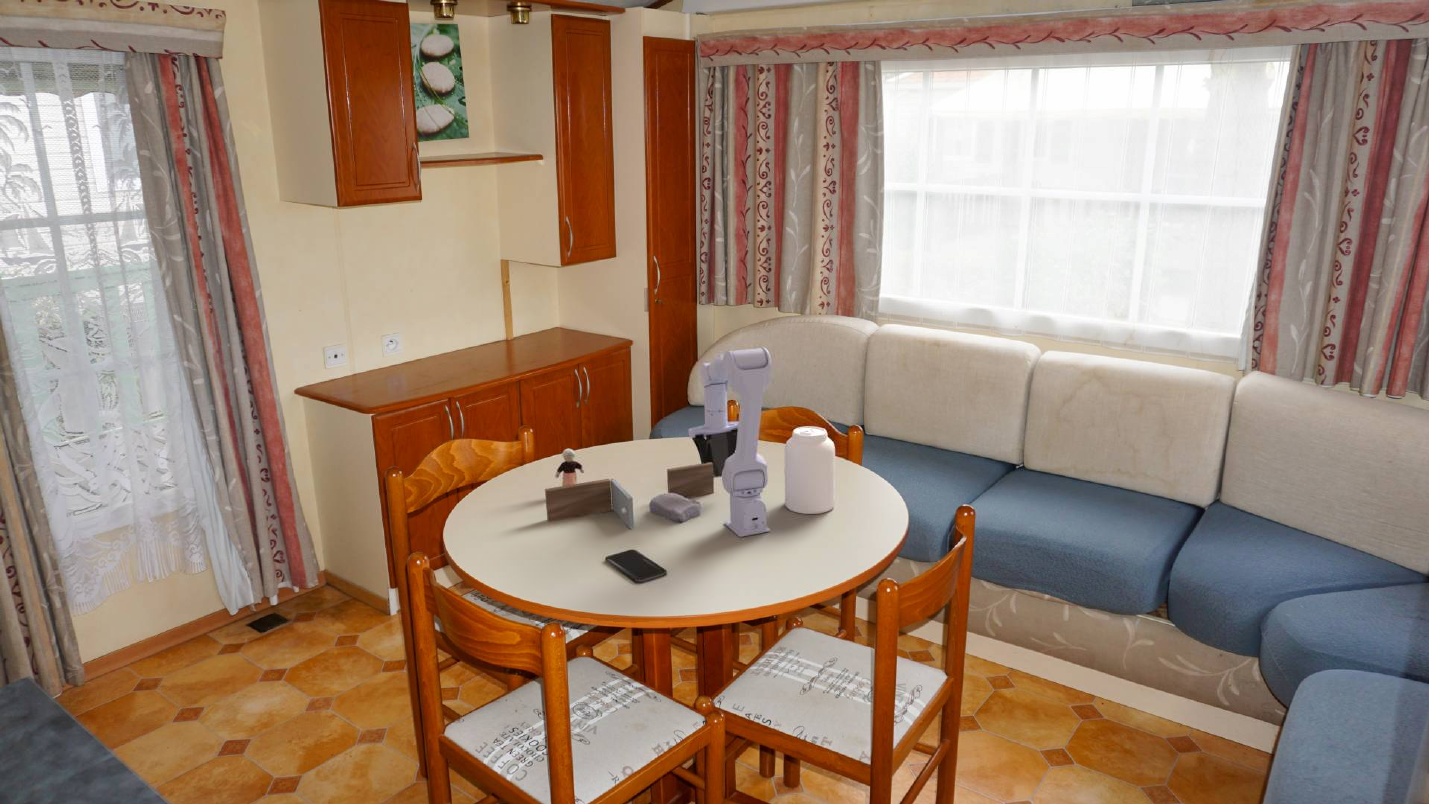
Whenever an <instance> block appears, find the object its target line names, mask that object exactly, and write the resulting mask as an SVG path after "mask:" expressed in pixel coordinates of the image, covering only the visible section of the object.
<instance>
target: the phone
mask: <svg viewBox="0 0 1429 804" xmlns="http://www.w3.org/2000/svg"><path fill="white" fill-rule="evenodd" d="M604 559H605V560H604V561H605V563H606V564H607V565H608V566H610V567H611V568H613V569H615V570H616V571H617V572H619V573H620V574H621V575H623V576H624V577H626V578H627V579H629V580H630V581H631V582H633V583H634V584H637V585H638V584H639V585H640V584H644V583H647V582H652V581H653V580H657V579H660V578H663V577H666V576H667V572H668V571H667V569H666V568H663V566H660V565H659V564H658V563H656V562H654V560H652V559H650V558H649V557H647V556H646V555H644V554H642V553H640V551H638V550H637V549H628V550H624V551H619V552H617V553H613V554H611V555H607V556H605V557H604Z"/></svg>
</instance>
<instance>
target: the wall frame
mask: <svg viewBox="0 0 1429 804" xmlns="http://www.w3.org/2000/svg"><path fill="white" fill-rule="evenodd" d="M666 472H667V473H666V474H667V475H666V478H667V493H675V494H678V495H681V496H683V497H684V498H687V499H688V498H692V497H698V496H703V495H708V494H709V495H710V494H714V493H715V489H714V488H715V486H714V484H715V483H714V482H715V481H714V479H715V478H714V474H713V463H711V462H709V463H706V464H703V463H702V464H701V463H697V464H692V465H690V464H689V465H685V466H678V467H672V468H667V469H666ZM544 493H545V494H544V495H545V506H546V507H545V508H546V519H547V521H548V522H554V521H555V522H556V521H559V520H566V519H571V518H576V517H583V516H588V515H589V516H590V515H595V514H599V513H606V512H612V511H613V508H612V496H611V479H609V478H604V479H598V480H592V481H586V482H580V483H577V484H573V485H567V486H555V487H549V488H544Z"/></svg>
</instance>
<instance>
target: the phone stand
mask: <svg viewBox="0 0 1429 804" xmlns="http://www.w3.org/2000/svg"><path fill="white" fill-rule="evenodd" d="M705 439H706V440H707V446H706V458H707V461H706V463H709V462H711V463H713V476H716V477H722V471H723V469H724V465H725V460H726V459H728V458H729V457H728V442H727V435H726V432H722V433H716V434H709V435H705ZM700 462H701V461H700ZM700 464H702V462H701V463H700Z"/></svg>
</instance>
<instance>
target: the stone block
mask: <svg viewBox="0 0 1429 804" xmlns="http://www.w3.org/2000/svg"><path fill="white" fill-rule="evenodd" d="M702 509H703V508H702V503H701V501H697V500H696V499H689V498H688V497H687V498H684V497H683V496H681V495H678V494H675V493H668V492H666V493H662V494H658V495H656V496H653V498H651V499H650V501H649V512H650V513H652V514H653V515H656V516H659V517H662V518H665V519H666V520H669V521H670V522H671V521H672V522H674V523H683V522H688V521H689V520H690V519H694V518H696V517H699V516H700V515H701V512H702Z"/></svg>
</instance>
